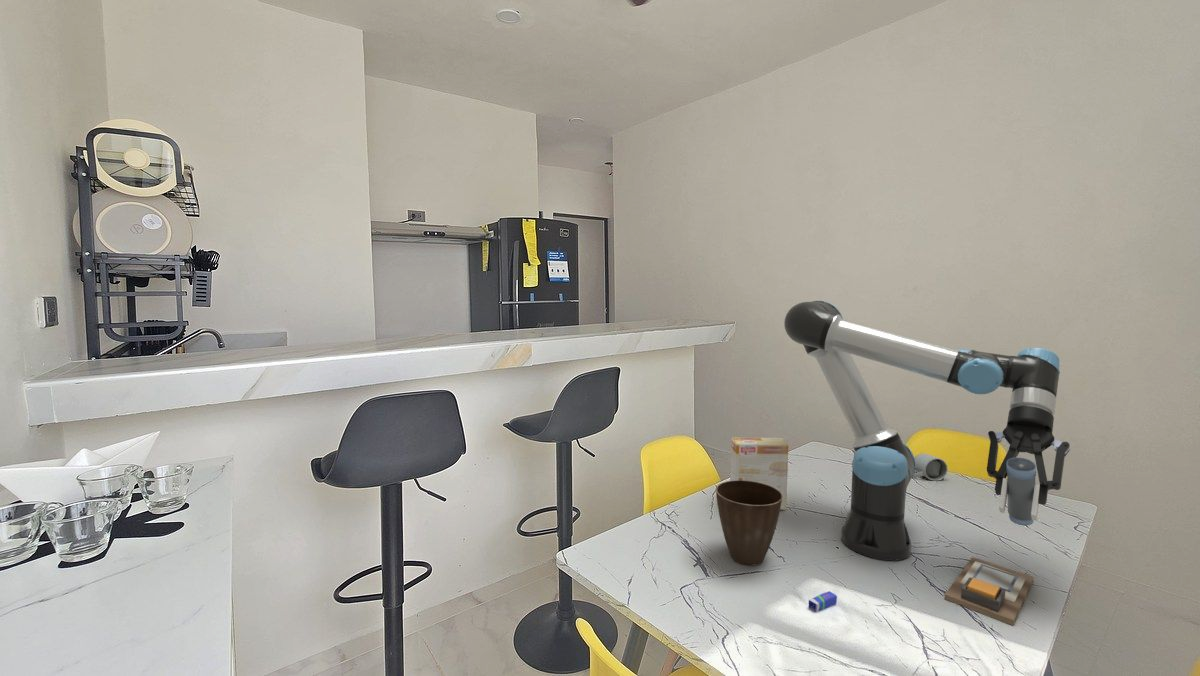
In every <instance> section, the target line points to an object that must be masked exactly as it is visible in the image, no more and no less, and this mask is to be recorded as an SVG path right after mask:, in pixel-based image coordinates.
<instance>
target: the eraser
mask: <svg viewBox="0 0 1200 676" xmlns="http://www.w3.org/2000/svg"><path fill="white" fill-rule="evenodd" d="M837 601H838V596H837V595H836V594H835V593H834V592H832V591H830V590H829V591H825V592H823V593H820V594H818V595H817V596H815V597H811V598H809V599H808V608H812V607H813V605H814V606H815V609H814V611H815V613H818V612H820V611H823V610H824V609H827V608H829V607H831V606H834V605H836V604H837ZM811 606H812V607H811Z"/></svg>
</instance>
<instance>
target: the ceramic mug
mask: <svg viewBox="0 0 1200 676" xmlns="http://www.w3.org/2000/svg"><path fill="white" fill-rule="evenodd" d="M914 458H915V464H916V467H915V472H914V474H913V477H912V479H913V478H914V479H915V478H916V479H917V478H920V477H925V478H927V479H928V480H930V481H933V482H939V481H941V480H943V479H944V478H945V477H946V475H947V474H948V470H949V469H948V464H947V463H946V461H945V460H944V459H942V458H939V457H937V456H933V455H932V454H928V453H919V454H916V455H914Z"/></svg>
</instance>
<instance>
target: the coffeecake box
mask: <svg viewBox="0 0 1200 676" xmlns="http://www.w3.org/2000/svg"><path fill="white" fill-rule="evenodd" d="M730 440H731V441H730V444H731V445H730V472H729V473H730V475H729V477H730V478H729V479H730V480H729V481H736V480H743V481H753V482H758V483H763V484H766V485H769V486H771V487H773V488H775V489H777V490H778V491H780V492H781V494H782V502H781V507H780V511H782V510H783V511H786V510H787V504H788V503H787V500H788V499H787V498H788V497H787V496H788V495H787V494H788V493H787V492H788V472H789V471H788V469H789V466H788V465H789V464H788V463H789V443H787V441H785V440H784V439H783V438H782V437H735V436H734V437H731V439H730Z"/></svg>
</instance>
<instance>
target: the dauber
mask: <svg viewBox="0 0 1200 676" xmlns="http://www.w3.org/2000/svg"><path fill="white" fill-rule="evenodd" d="M1036 476H1037V466H1036V462H1034V461H1032V460H1030V459H1028V458H1024V457H1016V458H1011V459H1009V460H1007V477H1006V479H1007V484H1008V494H1007V514H1008V519H1009V520H1010V521H1011V522H1012V523H1013V524H1016V525H1018V526H1023V527H1024V526H1027V527H1028V526H1030V525H1033V523H1034V522H1035V520H1032V517H1031V511H1032V503H1033V495H1034V487H1035V484H1036Z"/></svg>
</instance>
